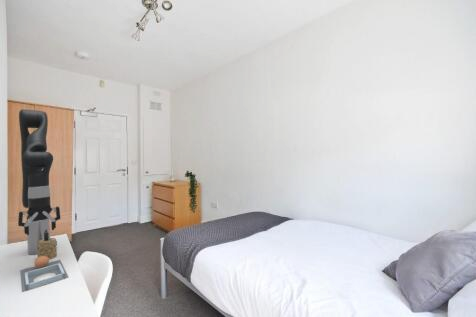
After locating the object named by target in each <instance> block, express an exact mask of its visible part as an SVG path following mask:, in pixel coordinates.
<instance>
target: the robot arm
mask: <svg viewBox="0 0 476 317" xmlns="http://www.w3.org/2000/svg"><path fill="white" fill-rule="evenodd" d="M18 121H19V124H18V125H19V130H20V141H21V142H20V146H21V148H20V149H21V152H20V154H21V158H20V159H21V160H20V161H21V171H22V190H21V191H22V194H21V203H22V206H23V208H25V209H27V210H26V211H22V210H21V211H19V212H18V221H17V222H18V227H24V228H23V230H24V234H25V235H27V238H26V239H27V254H28V255H37V242H38V241H40V240H43V239H44V231H45V229H48V234H49V238H51V231H54V230H55V229H56V228H57V227H56V226H57V225H56V224H57V221H59V220H61V210H60V207H59V206H58V205H57V206H55V207H51V188H50V171H51V168H52V166H53V165H52V164H53V162H54V156H53V154H52V153H51V152H49V151H48V146H47V145H48V144H47V135H48V127H49V126H48V123H49V120H48V114H47V113H46V112H45V111H44V110H34V109H20V110H19V112H18ZM29 129H35V130H34V131H32V132H31V133H30V131H29ZM52 211H53V212H55V215H56V216H55V217H53V216H52V215H51V212H52ZM24 217H26V221H25V222H23V219H24ZM50 222H51V224H50ZM50 225H51V228H50Z"/></svg>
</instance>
